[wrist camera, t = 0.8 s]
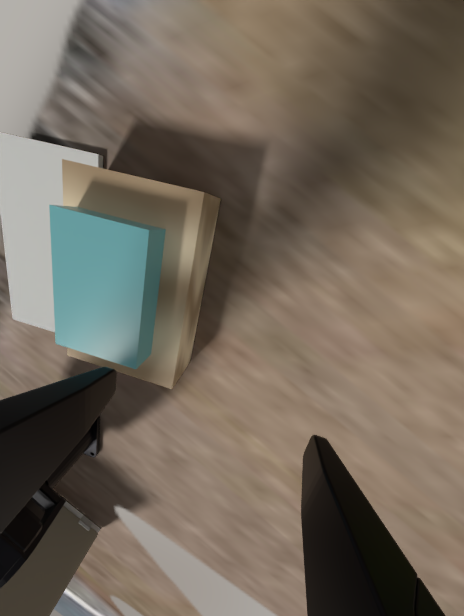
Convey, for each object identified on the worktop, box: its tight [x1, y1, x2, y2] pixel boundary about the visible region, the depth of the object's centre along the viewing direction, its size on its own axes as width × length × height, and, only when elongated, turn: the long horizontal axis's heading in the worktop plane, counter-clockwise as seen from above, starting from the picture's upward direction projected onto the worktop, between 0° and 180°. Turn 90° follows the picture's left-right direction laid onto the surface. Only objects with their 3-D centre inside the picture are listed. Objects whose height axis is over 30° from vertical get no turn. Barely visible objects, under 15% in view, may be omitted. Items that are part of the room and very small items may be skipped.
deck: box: [62, 159, 221, 389], centre depth 19 cm, size 14×9×4 cm, turn 168°
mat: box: [0, 132, 103, 332], centre depth 21 cm, size 16×9×1 cm, turn 168°
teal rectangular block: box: [49, 205, 166, 369], centre depth 16 cm, size 9×6×2 cm, turn 168°
